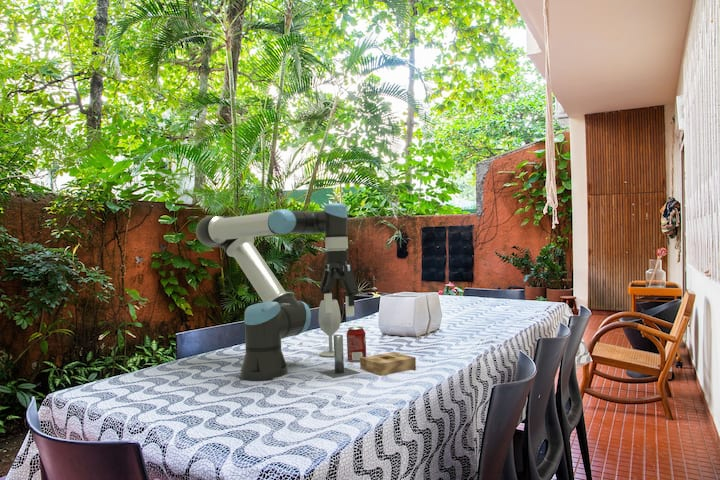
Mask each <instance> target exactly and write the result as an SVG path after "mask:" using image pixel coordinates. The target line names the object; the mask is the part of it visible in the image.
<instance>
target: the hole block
mask: <svg viewBox="0 0 720 480" xmlns="http://www.w3.org/2000/svg"><path fill="white" fill-rule="evenodd" d="M416 360H417V359H416V357H415V356H410V355H407V354H403V353H400V352H396V351H392V352H387V353H380V354H375V355H374V354H373V355H369V356H366V357H362V358H360V362H359V364H360V365H359V366H360V370H362V371H365V372H368V373H371V374H375V375H378V376H386V375H391V374H395V373H401V372H407V371H416V370H417V365H416V364H417V362H416Z"/></svg>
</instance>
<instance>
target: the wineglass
mask: <svg viewBox="0 0 720 480" xmlns="http://www.w3.org/2000/svg"><path fill="white" fill-rule="evenodd" d="M318 307H319V308H318V325H319V329H320V330H321V331H322V332H323V333H324V334H325V335H327V336H328V350H325V351H321V352H319V353H318V355H319V356H321V357H324V358H325V357H329V358H334V344H333V336H334V335H335V333H337V331H338V330H339V329H340V327H341V322H342V316H341V315H342V314H341V310H340V305H339V302H338V300H337V299H332V312H331V313H325V311H324V299H323V300H320V304H319V306H318Z"/></svg>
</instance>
